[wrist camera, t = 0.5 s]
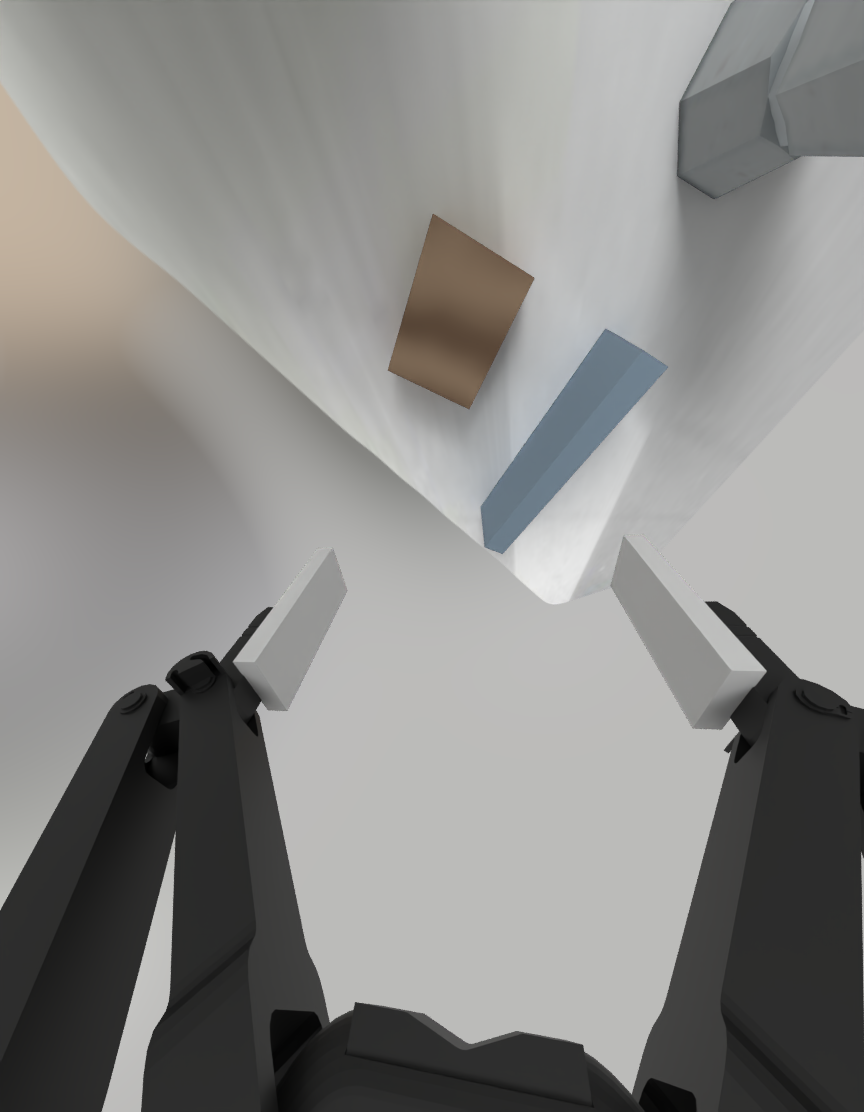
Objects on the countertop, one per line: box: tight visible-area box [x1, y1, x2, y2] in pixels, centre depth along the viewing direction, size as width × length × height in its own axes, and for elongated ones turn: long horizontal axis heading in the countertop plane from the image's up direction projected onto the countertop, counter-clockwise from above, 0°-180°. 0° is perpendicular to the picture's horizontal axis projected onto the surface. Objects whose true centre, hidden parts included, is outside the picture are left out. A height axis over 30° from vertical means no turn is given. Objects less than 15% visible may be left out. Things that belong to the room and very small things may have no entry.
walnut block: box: [388, 214, 534, 409], centre depth 27 cm, size 10×8×5 cm
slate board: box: [481, 329, 668, 554], centre depth 33 cm, size 22×2×8 cm, turn 156°
